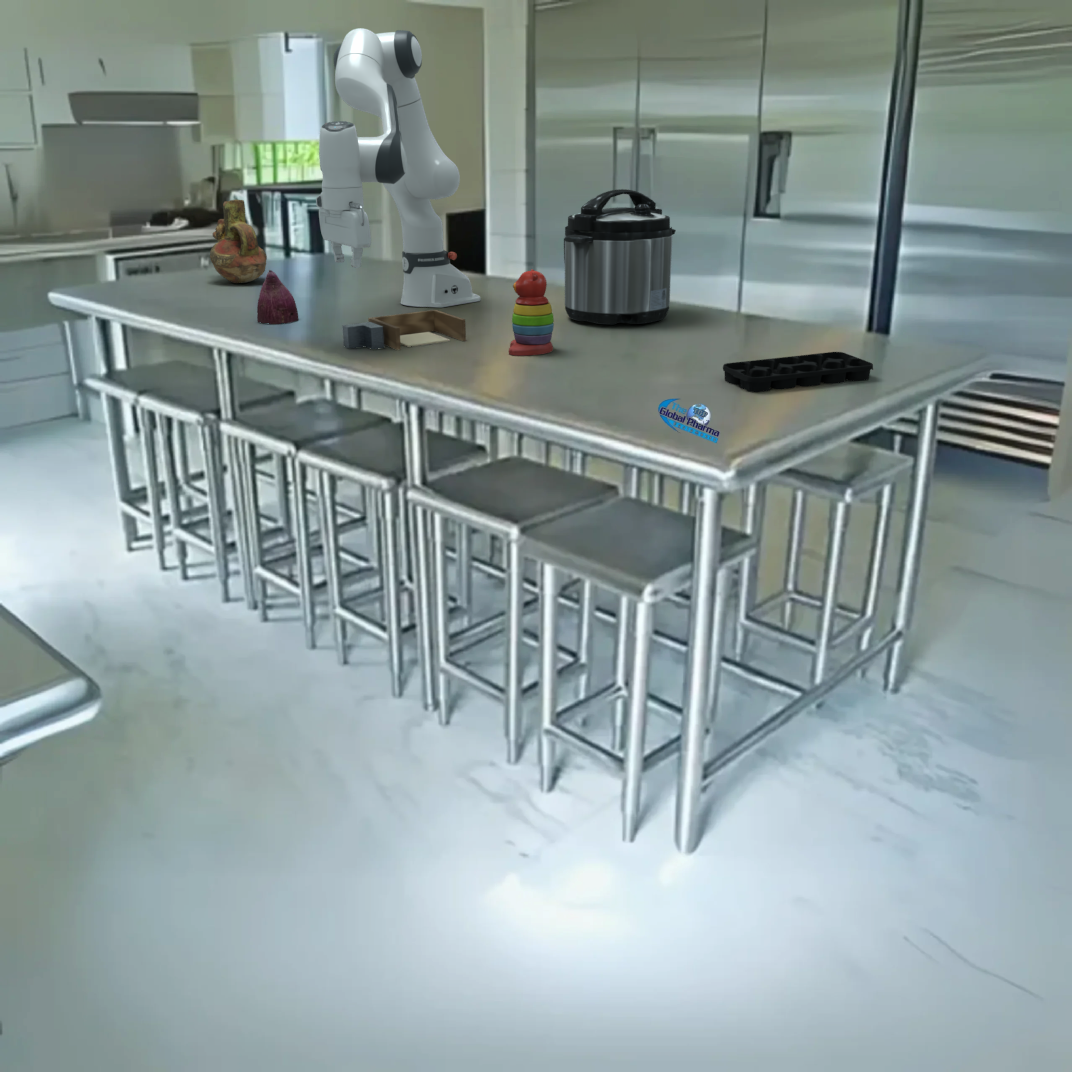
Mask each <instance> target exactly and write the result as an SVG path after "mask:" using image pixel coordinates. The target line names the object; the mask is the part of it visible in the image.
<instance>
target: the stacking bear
mask: <svg viewBox="0 0 1072 1072" xmlns="http://www.w3.org/2000/svg"><path fill="white" fill-rule="evenodd" d="M547 285H548V284H547V278H546V276H545V275H544V274H543V273H542V272H540V271H537V270H534V269H530V270H527V271H524V272H522V273H521V275H520V276H519V278H518V279H517V280H516V281H515V282H514V283H513V285H512V288H513V289H514V290H513V291H514V293H516V294H517V295H518V297H517V298H516V299H515V303H514V307H513V313H512V318H511V326H512V332H513V336H514V339H512V341H511V342H510V343H509V348H508V355H510V356H515V357H516V356H518V357H519V356H520V357H522V356H523V357H524V356H538V355H544V354H549V353H551V352H553V350H554V347H553V343H552V341H551V340H552V336H553V331H554V325H555V323H554V322H555V321H554V313H553V309H552V303H550V302H549V299H548V298H547V297H546V296H545V293H546V292H547V291H546V290H547Z"/></svg>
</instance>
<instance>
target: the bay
mask: <svg viewBox="0 0 1072 1072" xmlns="http://www.w3.org/2000/svg"><path fill="white" fill-rule="evenodd" d="M367 320H368V321H367V322H372V323H375V324H377V325H380V326H383V335H384V346H386V347H388V346H389V347H388V348H390V347H391V348H390V349H393V348H394V349H393V350H395V349H396V351H401V350H402V347H401V346H402V345H401V343H400V335H408V334H415V333H423V332H431V333H433V332H437V333H438V334H442V335H444V336H448V337H450V338H451V339H452V338H453V339H456V340H458V341H462V342H465V341H467V336H466V333H467V332H466V319H465V318H462V317H459V316H456V315H454V314H453V315H452V314H450V313H447V312H444V311H441V310H439V309H438V310H437V309H431V310H422V311H421V310H420V311H415V312H413V311H412V312H406V313H398V314H390V315H381V316H375V317H374V316H372V317H368V319H367Z"/></svg>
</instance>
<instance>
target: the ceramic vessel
mask: <svg viewBox="0 0 1072 1072" xmlns="http://www.w3.org/2000/svg"><path fill="white" fill-rule="evenodd" d="M222 209H223V218H219V219H218V220H217V225H216V226H215V231H214V232H213V233H212V237H213V238H214V239H215V240H216V243H214V244H213V246H212V247H211V249H210V253H209V259H210V261H211V263H212V265H213V268H214V269H215V271H216V272H217V273H218V274H219V275H220V276H221V277H223V278H224V279H226V280H227V281H229V282H231V283H232V284H245V283H250V282H252V281H255V280H256V279H259V278H260V277H261V276H262V275H263V274H264V273H265V271H266V268H267V267H266V265H267V258H268V257H267V253H266V252H265V250H264V249H263V248H261V247H260V246H259V242H258V237H257V235H256V232H255V230H254V228H253V226H251V225H250V224H249V223H246V205H245V200H243V199H231V200H229V201H227V200H226V201H224V202H223V204H222Z"/></svg>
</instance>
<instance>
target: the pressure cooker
mask: <svg viewBox="0 0 1072 1072" xmlns="http://www.w3.org/2000/svg"><path fill="white" fill-rule="evenodd" d="M621 195H628V196H629V198H630V199H631V202H632V204H633V205H634V207H626V206H625V207H618V206H617V207H608V208H605V207H606V205H607V204H608V203H609V201H610V200H611V199H612V198H614V197H617V196H621ZM656 206H657V203H656V202H655V201H654V200H653V199H651V198H650V197H649V196H647V195H646V194H644V193H642V192H638V191H636V190H632V189H623V188H622V189H613V190H608V191H605V192H602V193H600V194H597V195H596V196H594V197H592V198H591V199H590V200H589V201H587V202H586V203H584V204H583V205H582V206H581V207H580V212H579V213H575V214H570V215H569V216H568V217H567V225H566V226H565V227H564V238H563V261H564V309H565V311H566V314H567V316H568V318H570V319H571V320H575V321H578V322H584V321H585V322H588V323H592V324H598V325H617V324H618V323H619V324H620V323H621V324H629V325H630V324H631V325H633V324H634V325H635V324H636V325H637V324H638V325H639V324H641V325H644V324H649V323H656V322H659V321H661V320H663V319H665V318H666V316H667V314H668V313H669V310H670V306H671V302H670V301H671V274H672V252H673V251H672V250H673V249H672V248H673V236H674V235H675V233H676V229H674V228H673V227H672V226H671V217H670V216H669V215H665V214H663V210H662V208H656Z"/></svg>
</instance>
